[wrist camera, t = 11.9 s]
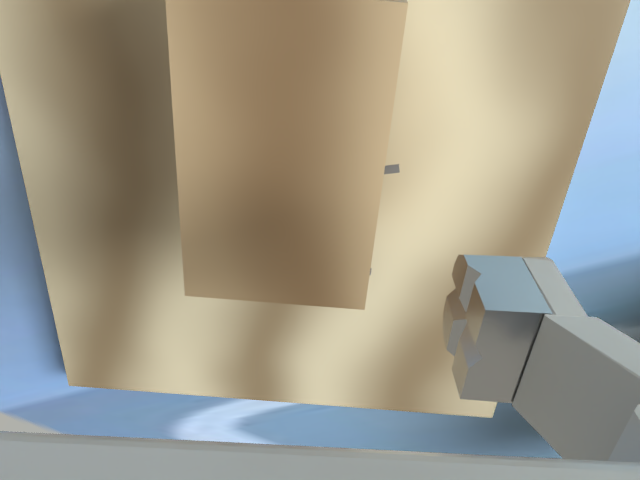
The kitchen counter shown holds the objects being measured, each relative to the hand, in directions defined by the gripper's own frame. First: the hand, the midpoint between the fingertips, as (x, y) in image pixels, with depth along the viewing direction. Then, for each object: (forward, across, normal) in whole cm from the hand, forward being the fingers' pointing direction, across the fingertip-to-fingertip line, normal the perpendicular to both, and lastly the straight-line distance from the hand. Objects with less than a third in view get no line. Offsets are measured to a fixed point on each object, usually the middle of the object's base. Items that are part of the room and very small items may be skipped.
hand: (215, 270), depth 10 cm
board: (+10, -1, +4) cm, 11 cm away
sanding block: (+9, -1, 0) cm, 9 cm away
